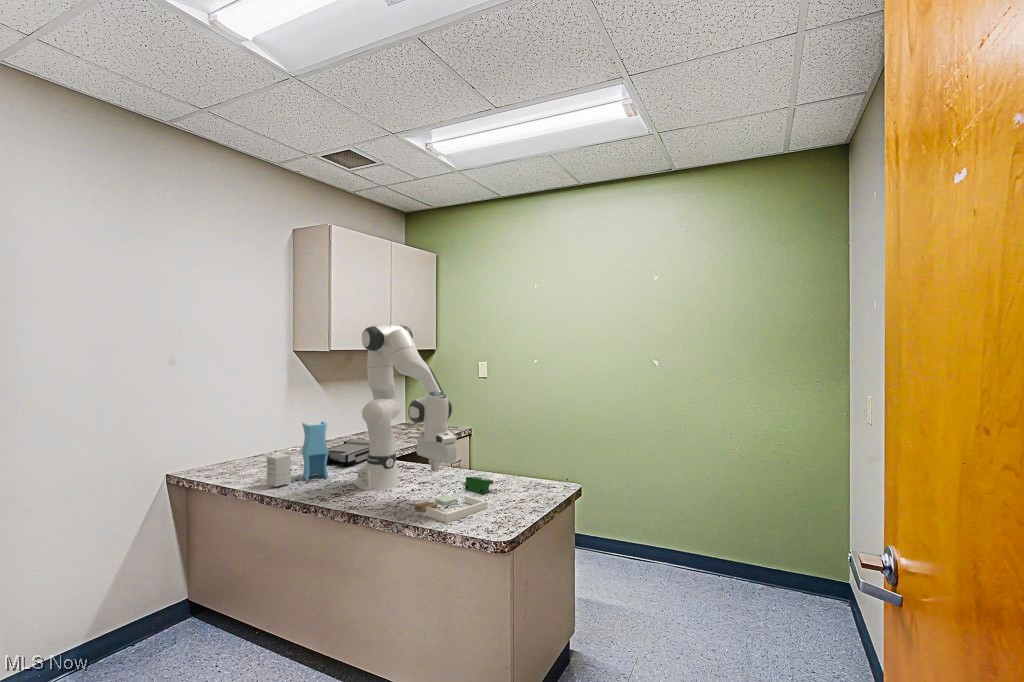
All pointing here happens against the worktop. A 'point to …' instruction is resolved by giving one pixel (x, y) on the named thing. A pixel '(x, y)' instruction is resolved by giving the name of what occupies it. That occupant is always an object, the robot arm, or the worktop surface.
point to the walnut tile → (423, 506)
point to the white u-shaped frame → (451, 516)
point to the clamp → (477, 485)
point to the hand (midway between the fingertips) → (434, 470)
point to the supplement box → (278, 469)
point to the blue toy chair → (315, 450)
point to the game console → (349, 453)
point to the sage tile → (445, 500)
